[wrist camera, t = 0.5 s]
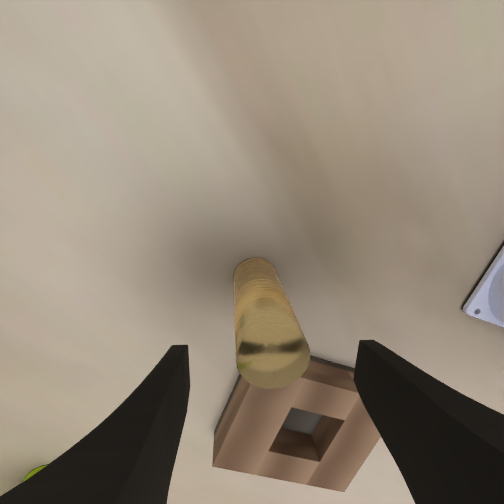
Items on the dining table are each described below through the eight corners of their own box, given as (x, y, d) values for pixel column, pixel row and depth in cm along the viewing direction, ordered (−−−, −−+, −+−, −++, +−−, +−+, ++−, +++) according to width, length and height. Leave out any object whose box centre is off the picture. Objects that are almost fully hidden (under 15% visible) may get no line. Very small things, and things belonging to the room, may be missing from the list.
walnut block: (381, 376, 24) (401, 404, 21) (331, 457, 26) (344, 491, 24) (255, 340, 22) (259, 366, 19) (214, 431, 24) (212, 466, 21)
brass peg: (282, 265, 20) (322, 338, 12) (266, 302, 21) (292, 395, 12) (242, 251, 20) (252, 317, 11) (227, 290, 20) (225, 378, 12)
